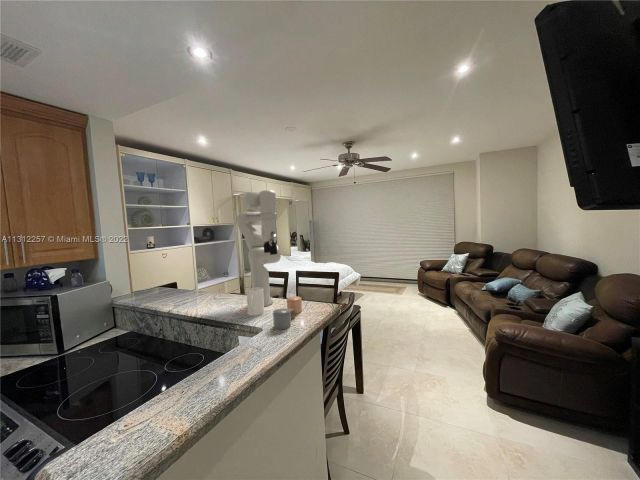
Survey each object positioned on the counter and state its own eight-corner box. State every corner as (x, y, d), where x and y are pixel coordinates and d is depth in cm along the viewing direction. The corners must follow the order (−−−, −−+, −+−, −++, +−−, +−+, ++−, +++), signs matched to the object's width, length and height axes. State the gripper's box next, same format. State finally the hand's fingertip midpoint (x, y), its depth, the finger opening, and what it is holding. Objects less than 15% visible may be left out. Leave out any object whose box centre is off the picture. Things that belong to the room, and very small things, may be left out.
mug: (259, 318, 119) (257, 293, 118) (241, 318, 120) (240, 293, 119) (267, 309, 131) (266, 286, 130) (251, 309, 132) (250, 287, 131)
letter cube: (283, 317, 119) (283, 309, 119) (291, 315, 121) (291, 307, 121) (287, 320, 116) (286, 311, 115) (295, 318, 118) (294, 309, 117)
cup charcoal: (271, 324, 111) (271, 310, 110) (287, 321, 114) (286, 307, 114) (277, 330, 104) (276, 315, 104) (293, 326, 108) (292, 312, 107)
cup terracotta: (285, 310, 129) (284, 297, 128) (298, 307, 132) (297, 295, 132) (290, 314, 122) (289, 301, 122) (304, 311, 126) (303, 299, 125)
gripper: (256, 218, 124) (257, 252, 126) (266, 216, 109) (268, 256, 110) (270, 217, 128) (272, 251, 129) (282, 216, 113) (284, 254, 114)
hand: (270, 253), depth 120 cm, fingers open, 9 cm apart
